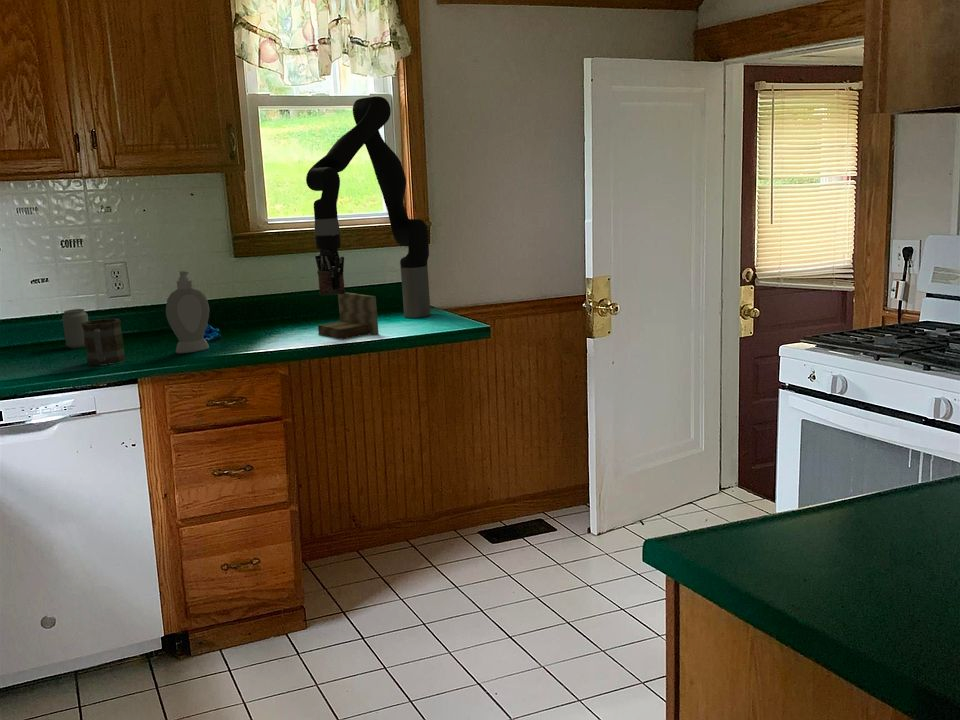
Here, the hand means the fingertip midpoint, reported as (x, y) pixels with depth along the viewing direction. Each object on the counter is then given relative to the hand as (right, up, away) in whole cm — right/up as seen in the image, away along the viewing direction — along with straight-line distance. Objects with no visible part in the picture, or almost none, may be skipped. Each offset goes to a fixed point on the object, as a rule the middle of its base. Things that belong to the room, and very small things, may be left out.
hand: (332, 288), depth 290 cm
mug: (-62, -24, -21) cm, 70 cm away
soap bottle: (-40, -20, -10) cm, 46 cm away
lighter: (0, -2, 0) cm, 2 cm away
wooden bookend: (+4, -14, +5) cm, 15 cm away
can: (-83, -18, +9) cm, 85 cm away
